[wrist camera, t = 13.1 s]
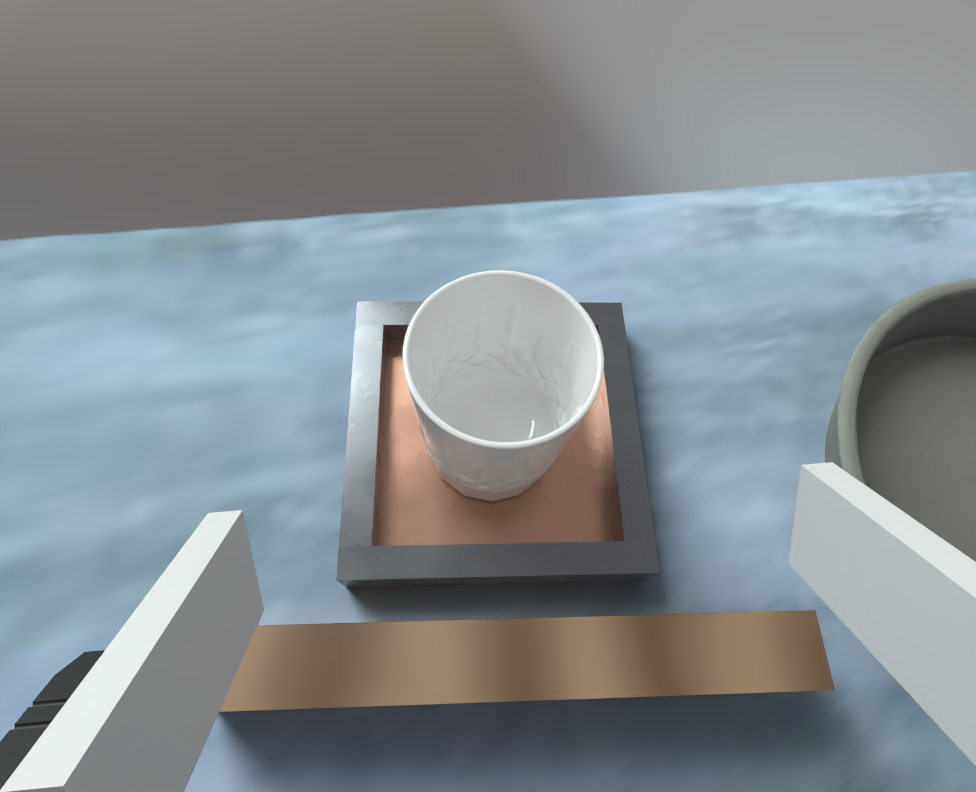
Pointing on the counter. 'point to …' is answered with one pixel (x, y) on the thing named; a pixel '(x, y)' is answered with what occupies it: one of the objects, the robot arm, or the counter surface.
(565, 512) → the square tray
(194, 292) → the counter surface
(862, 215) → the counter surface
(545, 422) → the white cup
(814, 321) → the counter surface
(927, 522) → the cake pan
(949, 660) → the robot arm
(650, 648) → the board
